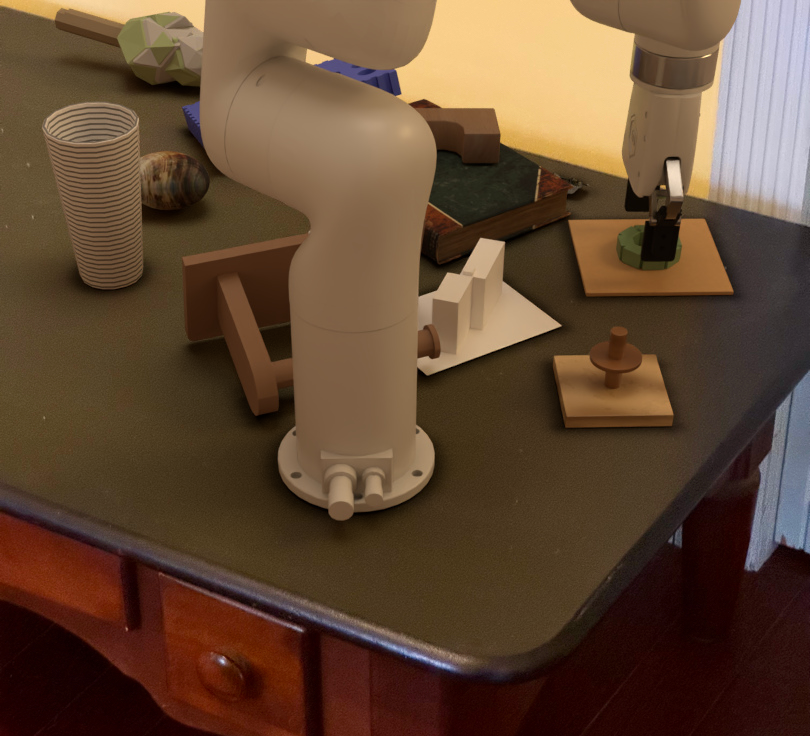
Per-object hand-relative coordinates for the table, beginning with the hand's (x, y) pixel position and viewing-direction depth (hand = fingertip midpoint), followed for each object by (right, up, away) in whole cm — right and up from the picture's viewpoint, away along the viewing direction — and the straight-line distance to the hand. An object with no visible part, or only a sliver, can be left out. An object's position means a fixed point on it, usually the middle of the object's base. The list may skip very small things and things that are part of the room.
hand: (648, 234), depth 140 cm
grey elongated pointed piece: (-8, +8, +11) cm, 16 cm away
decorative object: (-65, +33, +32) cm, 80 cm away
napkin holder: (-18, -10, -7) cm, 22 cm away
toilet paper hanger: (-31, -14, -11) cm, 36 cm away
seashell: (-46, +8, +10) cm, 48 cm away
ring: (0, -2, +2) cm, 2 cm away
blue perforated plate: (-36, +19, +17) cm, 45 cm away
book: (-21, +7, +11) cm, 25 cm away
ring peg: (-6, -17, -15) cm, 24 cm away
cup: (-52, -4, -1) cm, 52 cm away
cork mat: (0, -2, +2) cm, 3 cm away
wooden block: (-14, +12, +9) cm, 21 cm away
